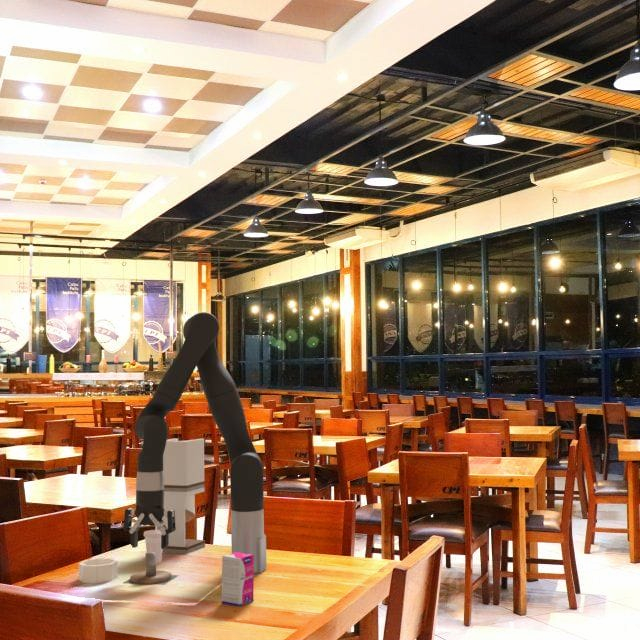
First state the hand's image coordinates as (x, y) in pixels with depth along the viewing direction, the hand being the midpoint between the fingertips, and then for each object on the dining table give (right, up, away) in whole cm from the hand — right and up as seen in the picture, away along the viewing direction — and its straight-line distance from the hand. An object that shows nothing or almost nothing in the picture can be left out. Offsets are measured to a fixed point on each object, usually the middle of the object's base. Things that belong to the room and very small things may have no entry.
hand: (149, 547), depth 226 cm
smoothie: (-2, -11, +19) cm, 22 cm away
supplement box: (+27, -7, -24) cm, 36 cm away
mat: (+1, -9, -1) cm, 9 cm away
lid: (+1, -8, -1) cm, 8 cm away
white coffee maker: (+2, -12, +41) cm, 42 cm away
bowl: (-14, -9, +1) cm, 17 cm away
